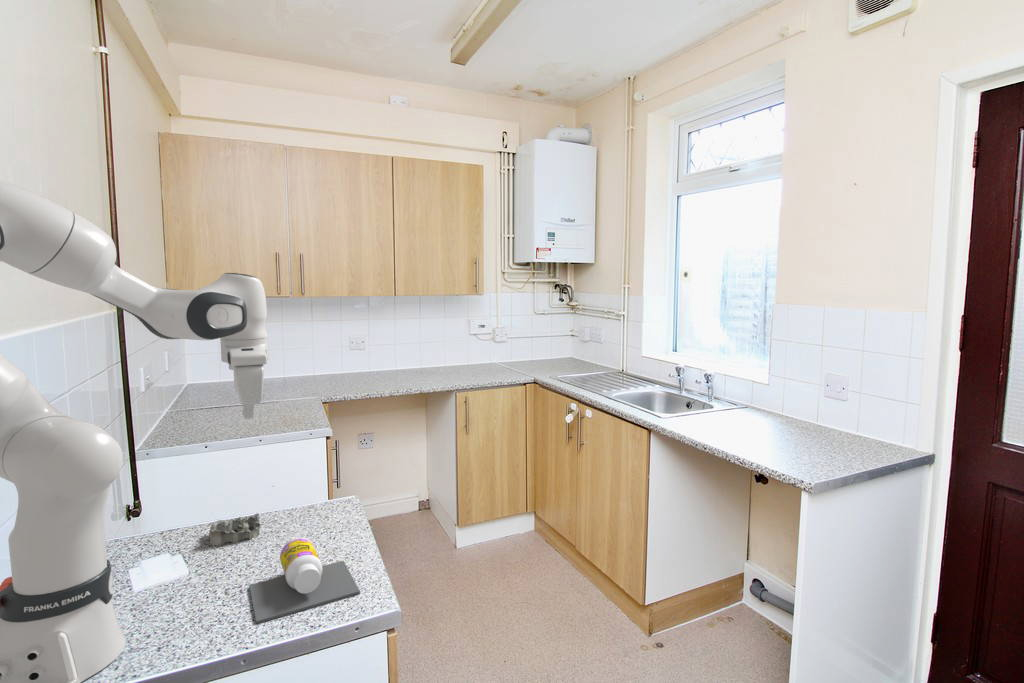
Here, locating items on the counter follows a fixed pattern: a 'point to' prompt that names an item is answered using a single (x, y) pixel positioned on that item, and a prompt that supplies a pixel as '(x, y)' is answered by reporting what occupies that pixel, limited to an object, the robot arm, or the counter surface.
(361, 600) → the counter surface
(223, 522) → the egg carton
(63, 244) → the robot arm
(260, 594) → the mat
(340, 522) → the counter surface
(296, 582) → the supplement bottle
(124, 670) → the counter surface
